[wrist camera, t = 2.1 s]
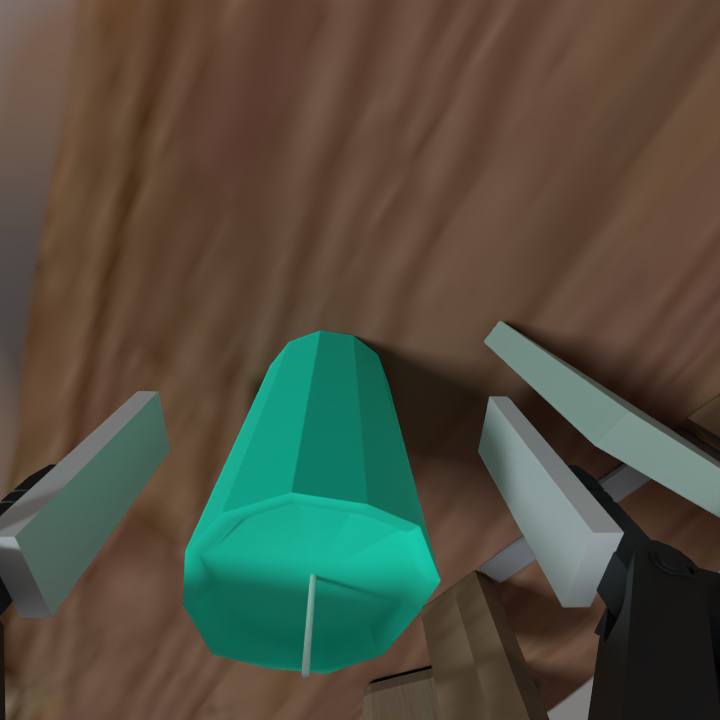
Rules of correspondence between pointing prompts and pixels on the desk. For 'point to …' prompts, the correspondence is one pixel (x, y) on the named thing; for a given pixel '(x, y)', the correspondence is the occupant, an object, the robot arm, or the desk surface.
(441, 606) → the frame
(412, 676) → the wooden block
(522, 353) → the sage green plank
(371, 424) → the candle
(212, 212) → the desk surface
